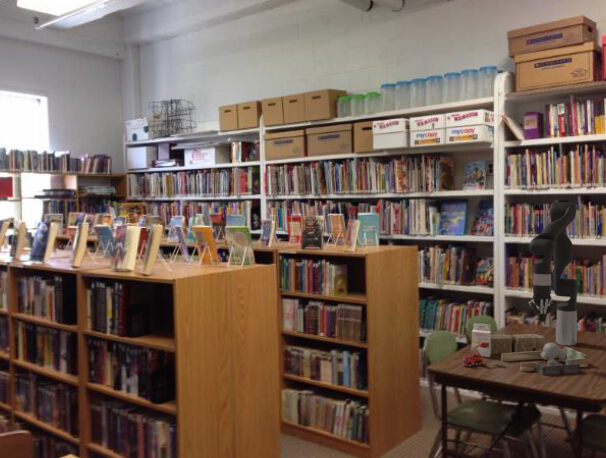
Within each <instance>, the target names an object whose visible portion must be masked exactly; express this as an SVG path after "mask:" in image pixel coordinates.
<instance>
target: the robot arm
mask: <svg viewBox="0 0 606 458" xmlns="http://www.w3.org/2000/svg"><path fill="white" fill-rule="evenodd" d="M576 217H577V206H576V204H575V203H572V202H566V201H565V202H563V201H561V202H560V201H553V202H552V203H551V204H550V208H549V219H550V222H549V223H548V224H547V225H546V226H544V228H543V229H542V231H541V233H539V234H537V235H536V236H534V237H533V238H532V239H531V241H530V242H529V245H528V250H529V251H530V253H531V254H533V255H536V256H537V255H539V256H544V257H543V259H537V260H535V261H534V262H533V275H532V294H533V295H532V298H531V300H529V301H528V302H527V304H528V305H529V307H530V308H531V309H532V311H533V312H535V313H537V320H538V322H539V323H545V321H546V319H547V317H546V314H547V313H550V312H551V311H552V309H553V308H554V306H555V305H556V323H555V343H556V344H557V345H561V346H576V345H577V329H578V328H577V327H578V324H577V321H578V319H577V317H578V316H577V315H578V314H577V313H578V311H577V302H578V301H577V300H578V299H577V298H578V281H577V279H575V278H564V277H563V278H562V275H563V273H564V271H565V269H566V268H567V267H568V265H570V263H571V262H572V260H573V258H574V245H573V241H572V240H571V239H570V237H569V236H568V234H567V233H566V232H565V229H566V228H567V227H568V226H570V225H571V223H572V222H573V221H574V220H575V218H576ZM552 259H553V291H554V295H555V296H556V297H563V298H565V297H566V298H569V299H568V300H565V301H563V302H562V301H561V302H560V303H557V301H556V300H554V299H552V296H551V294H552V276H551V264H552ZM556 303H557V304H556Z"/></svg>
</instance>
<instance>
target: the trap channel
mask: <svg viewBox="0 0 606 458" xmlns="http://www.w3.org/2000/svg"><path fill="white" fill-rule="evenodd" d="M564 350H566V351H565V352H567V357H568V358H569V357H570V359H566V363H565V364H562V363H561V362H558V361H556V360H555V359H554V360H552V361H548V360H547V362H546V363H547V365H543V364H540V363H539V362H537V361H532V360H544V359H543V358H542V357H541V356H540V354H541V353H542V352H543V351H529V352H514V353H513V352H512V353H501V354H500V356H501V357H500V362H512V361H513V362H514V361H515V362H516V361H523V362H520V363H519V371H520V372H530V371H531V372H532V371H535V372H537V373H538V374H540V375H542V376H549V375H551V376H552V375H561V374H562V375H563V374H575V373H576V374H577V373H580V372H581V370H580V369H581V368H585V367H589V359H588V358H587V354H585V353H583V352H580V351H577V350H575V349H573V348H570V347H567V345H564V346H563V348H562V349H561V348H560V351H564ZM557 358H558V357H557ZM557 358H556V359H557ZM558 359H559V358H558ZM526 360H527V362H524V361H526ZM528 360H531V361H528Z"/></svg>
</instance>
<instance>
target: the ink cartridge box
mask: <svg viewBox="0 0 606 458" xmlns="http://www.w3.org/2000/svg"><path fill="white" fill-rule="evenodd" d="M472 325H473V326H472V327H473V329H472V330H471V347H472V346H473V347H474V346H475V345H477V344H479V342H485V343H489V347H488V348H482V347H478V348H476V350H477V352H478V354H479V355H480V357H485V358H490V357H491V355H492V354H491V335H492V330H491V328H492V325H491V324H490V323H489V324H487V323H476V322H474V323H473V324H472ZM473 355H474V353H473V352H472V351H471V356H473Z"/></svg>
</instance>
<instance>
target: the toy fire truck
mask: <svg viewBox="0 0 606 458" xmlns="http://www.w3.org/2000/svg"><path fill="white" fill-rule="evenodd" d="M478 347H482V348H488V347H489V343H485V342H479V344H477V345H475V346H474V347H473V346H472V345H471V348H470V352H471V353H472V352H473V353H474V355H471V356H469V355H463V357H462V362H461V365H462V366H463V367H469V368H470V367H472V366H480V365H482V364H483V361H484V360H483V358H481V356H480V355H479V354H478V352H477V350H476V348H478Z"/></svg>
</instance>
